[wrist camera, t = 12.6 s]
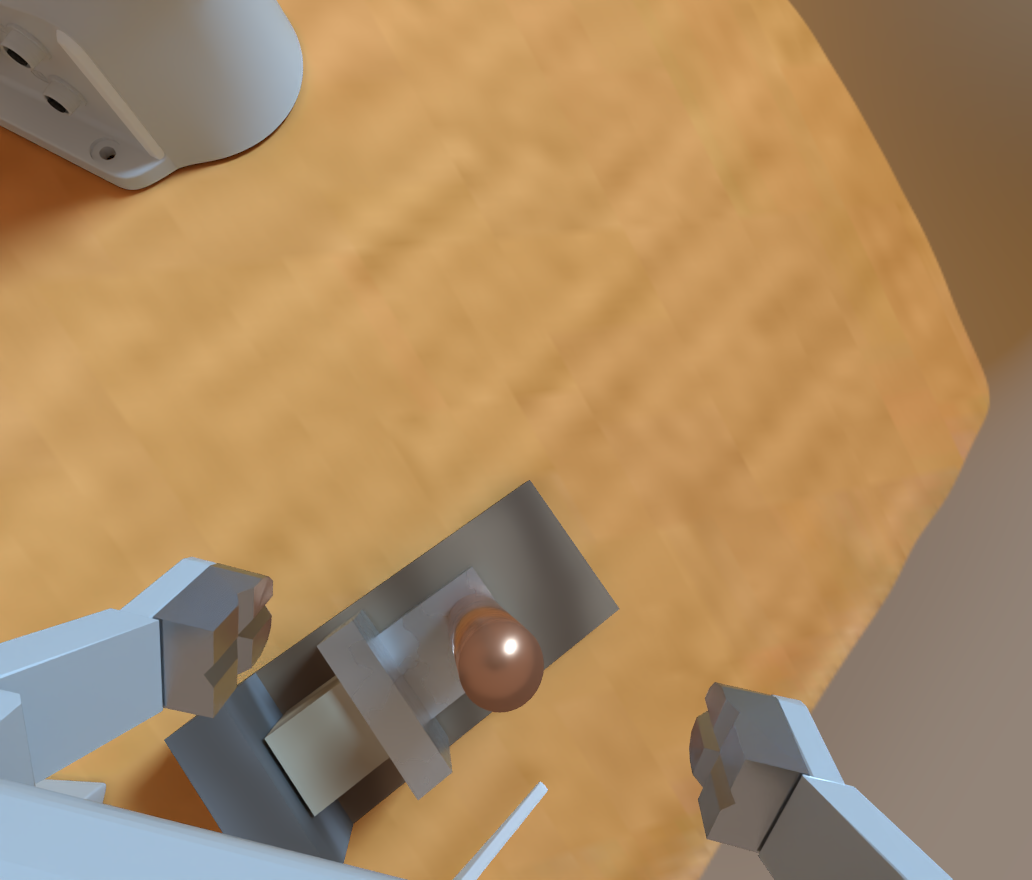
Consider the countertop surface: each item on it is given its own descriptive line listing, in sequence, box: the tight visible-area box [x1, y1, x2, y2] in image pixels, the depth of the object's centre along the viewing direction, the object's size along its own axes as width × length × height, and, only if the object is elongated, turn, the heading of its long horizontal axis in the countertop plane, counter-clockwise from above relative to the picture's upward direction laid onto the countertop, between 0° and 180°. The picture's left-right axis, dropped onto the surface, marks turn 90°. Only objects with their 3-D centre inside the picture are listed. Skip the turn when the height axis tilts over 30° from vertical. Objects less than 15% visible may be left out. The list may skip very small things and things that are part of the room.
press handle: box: [317, 566, 544, 800], centre depth 24 cm, size 8×8×11 cm
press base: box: [164, 480, 619, 863], centre depth 28 cm, size 20×9×6 cm, turn 126°
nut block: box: [264, 675, 389, 816], centre depth 27 cm, size 4×4×4 cm
